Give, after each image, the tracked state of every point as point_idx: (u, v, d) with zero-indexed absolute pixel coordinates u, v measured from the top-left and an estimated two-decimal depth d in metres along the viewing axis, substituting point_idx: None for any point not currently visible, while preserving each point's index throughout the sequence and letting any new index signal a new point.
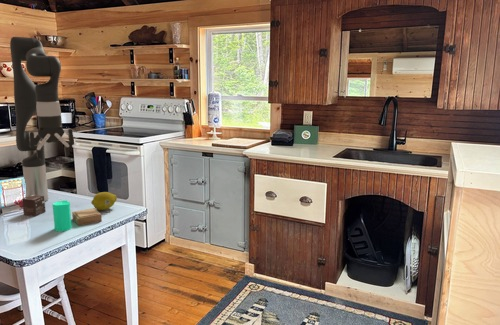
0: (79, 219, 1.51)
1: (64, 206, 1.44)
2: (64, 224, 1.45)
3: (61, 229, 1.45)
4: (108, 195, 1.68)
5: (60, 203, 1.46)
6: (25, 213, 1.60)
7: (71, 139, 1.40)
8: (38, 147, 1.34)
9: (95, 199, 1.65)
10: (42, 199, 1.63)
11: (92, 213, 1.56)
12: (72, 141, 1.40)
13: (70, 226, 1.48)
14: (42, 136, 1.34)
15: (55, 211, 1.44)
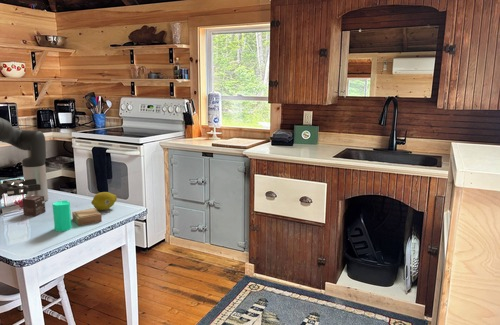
0: (79, 219, 1.51)
1: (64, 206, 1.44)
2: (64, 224, 1.45)
3: (61, 229, 1.45)
4: (108, 195, 1.68)
5: (60, 203, 1.46)
6: (25, 213, 1.60)
7: None
8: None
9: (95, 199, 1.65)
10: (42, 199, 1.63)
11: (92, 213, 1.56)
12: None
13: (70, 226, 1.48)
14: None
15: (55, 211, 1.44)
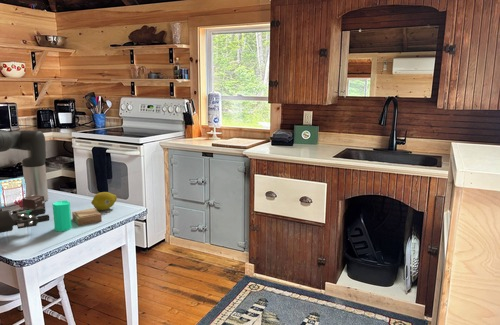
0: (79, 219, 1.51)
1: (64, 206, 1.44)
2: (64, 224, 1.45)
3: (61, 229, 1.45)
4: (108, 195, 1.68)
5: (60, 203, 1.47)
6: None
7: None
8: None
9: (95, 199, 1.65)
10: (42, 199, 1.63)
11: (92, 213, 1.56)
12: None
13: (70, 226, 1.48)
14: None
15: (55, 211, 1.44)
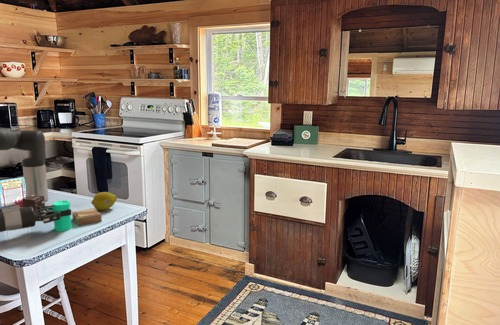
0: (79, 219, 1.51)
1: (64, 206, 1.44)
2: (64, 224, 1.45)
3: (61, 229, 1.45)
4: (108, 195, 1.68)
5: (60, 203, 1.46)
6: None
7: None
8: None
9: (95, 199, 1.65)
10: (42, 199, 1.63)
11: (92, 213, 1.56)
12: None
13: (70, 226, 1.48)
14: None
15: None
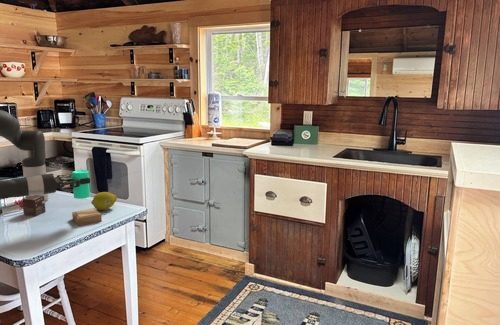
0: (79, 219, 1.51)
1: (83, 174, 1.50)
2: (83, 192, 1.51)
3: (80, 196, 1.51)
4: (108, 195, 1.68)
5: (79, 172, 1.52)
6: (25, 213, 1.60)
7: None
8: None
9: (95, 199, 1.65)
10: (42, 199, 1.63)
11: (92, 213, 1.56)
12: None
13: (88, 194, 1.53)
14: None
15: None
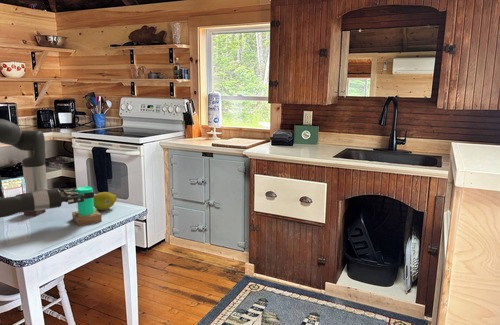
0: (79, 219, 1.51)
1: (88, 191, 1.52)
2: (87, 209, 1.54)
3: (85, 213, 1.53)
4: (108, 195, 1.68)
5: (83, 188, 1.55)
6: (25, 213, 1.60)
7: None
8: None
9: (95, 199, 1.65)
10: None
11: (92, 213, 1.56)
12: None
13: (92, 210, 1.56)
14: None
15: None
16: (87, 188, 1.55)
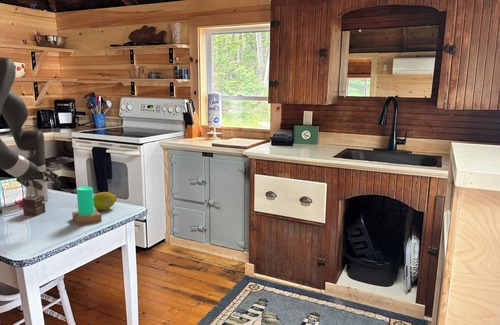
0: (79, 219, 1.51)
1: (88, 191, 1.52)
2: (87, 209, 1.54)
3: (85, 213, 1.53)
4: (108, 195, 1.68)
5: (83, 188, 1.55)
6: (25, 213, 1.60)
7: (51, 179, 1.44)
8: (31, 185, 1.48)
9: (95, 199, 1.65)
10: (42, 199, 1.63)
11: None
12: (53, 180, 1.45)
13: (93, 210, 1.56)
14: None
15: (79, 196, 1.52)
16: (87, 188, 1.55)
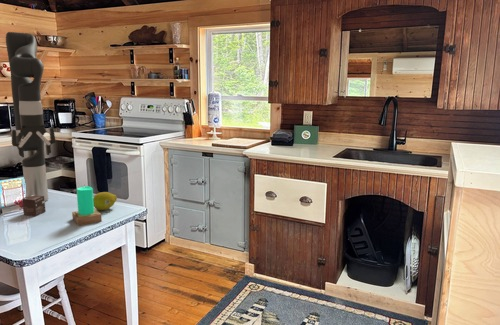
0: (79, 219, 1.51)
1: (88, 191, 1.52)
2: (87, 209, 1.54)
3: (85, 213, 1.53)
4: (108, 195, 1.68)
5: (83, 188, 1.55)
6: (25, 213, 1.60)
7: (52, 137, 1.46)
8: (20, 144, 1.40)
9: (95, 199, 1.65)
10: (42, 199, 1.63)
11: None
12: (53, 139, 1.46)
13: (93, 210, 1.56)
14: (24, 134, 1.40)
15: (79, 196, 1.52)
16: (87, 188, 1.55)
